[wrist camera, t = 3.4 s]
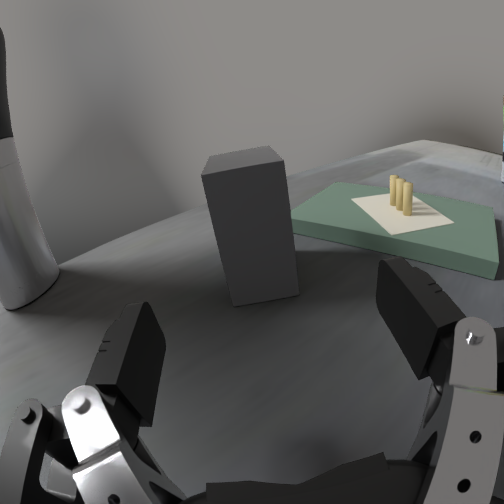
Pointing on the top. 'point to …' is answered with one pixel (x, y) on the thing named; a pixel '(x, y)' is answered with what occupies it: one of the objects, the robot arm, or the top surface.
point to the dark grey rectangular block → (252, 224)
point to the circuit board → (403, 225)
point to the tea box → (503, 172)
